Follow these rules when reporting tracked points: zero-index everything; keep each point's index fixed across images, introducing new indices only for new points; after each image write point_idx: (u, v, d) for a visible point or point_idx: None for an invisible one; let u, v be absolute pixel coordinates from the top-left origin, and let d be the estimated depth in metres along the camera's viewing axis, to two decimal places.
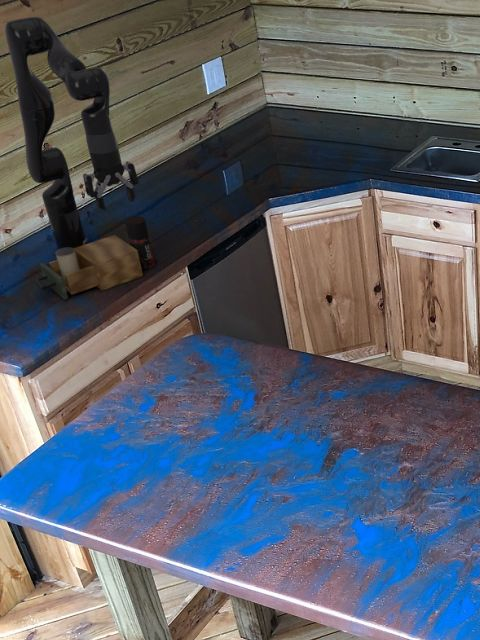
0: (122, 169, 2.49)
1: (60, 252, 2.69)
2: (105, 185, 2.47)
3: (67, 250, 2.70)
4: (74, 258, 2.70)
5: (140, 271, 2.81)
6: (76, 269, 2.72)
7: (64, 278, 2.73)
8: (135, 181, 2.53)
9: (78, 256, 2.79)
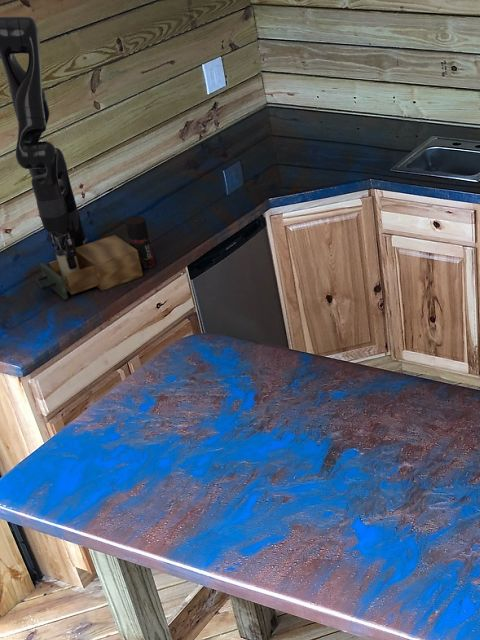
0: (60, 237, 2.64)
1: (60, 252, 2.69)
2: (52, 240, 2.68)
3: None
4: None
5: (140, 271, 2.81)
6: (76, 269, 2.72)
7: (64, 278, 2.73)
8: (67, 254, 2.66)
9: (78, 256, 2.79)
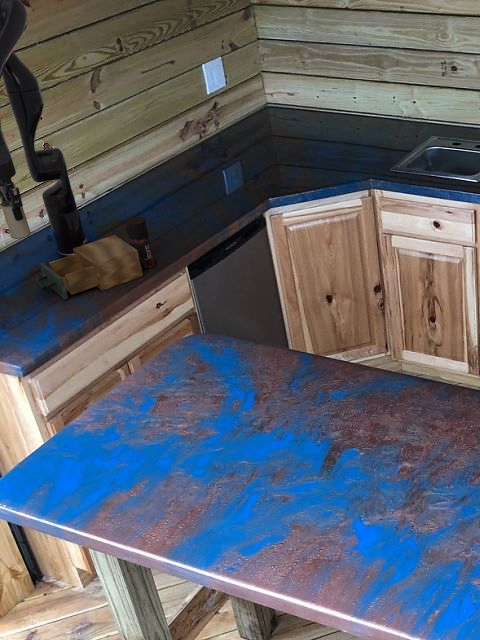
0: (5, 186, 2.55)
1: (5, 203, 2.60)
2: None
3: None
4: (21, 209, 2.61)
5: (140, 271, 2.81)
6: (23, 221, 2.63)
7: (11, 230, 2.64)
8: (12, 205, 2.57)
9: (78, 256, 2.79)
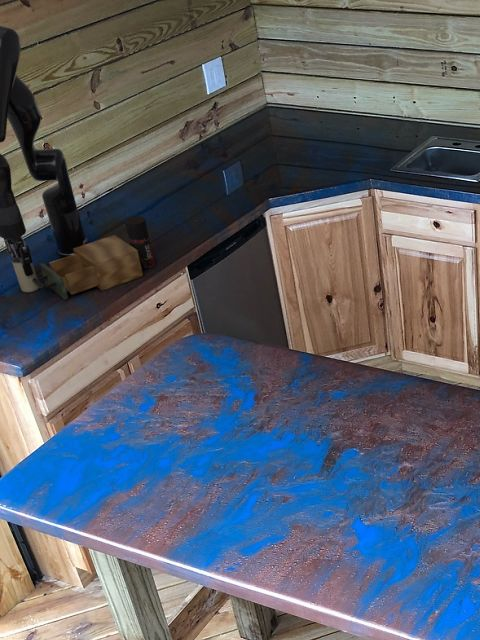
0: (15, 244, 2.65)
1: (16, 259, 2.71)
2: (8, 247, 2.70)
3: None
4: None
5: (140, 271, 2.81)
6: (33, 276, 2.74)
7: (21, 285, 2.74)
8: (22, 262, 2.67)
9: (78, 256, 2.79)
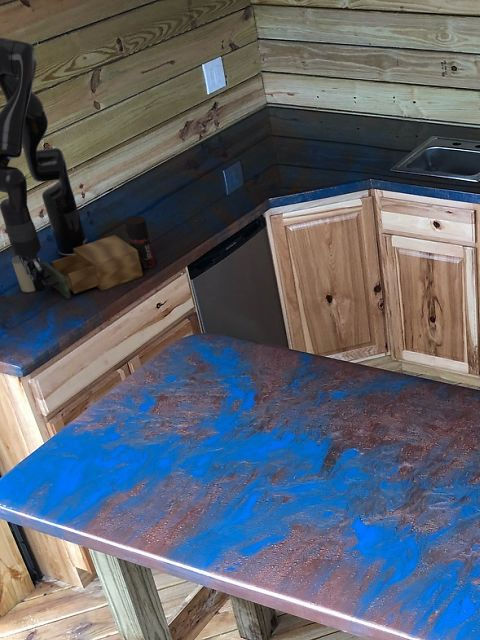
0: (30, 262, 2.59)
1: (16, 259, 2.71)
2: (22, 264, 2.64)
3: None
4: None
5: (140, 271, 2.81)
6: None
7: (21, 285, 2.74)
8: (34, 277, 2.63)
9: None
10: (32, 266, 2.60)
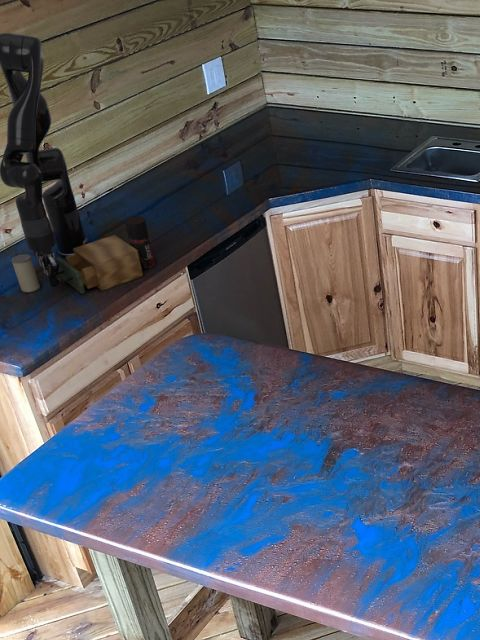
0: (45, 257, 2.61)
1: (16, 259, 2.71)
2: (37, 259, 2.66)
3: (23, 257, 2.72)
4: (30, 265, 2.72)
5: (140, 271, 2.81)
6: (33, 276, 2.74)
7: (21, 285, 2.74)
8: (48, 272, 2.65)
9: None
10: (47, 261, 2.62)
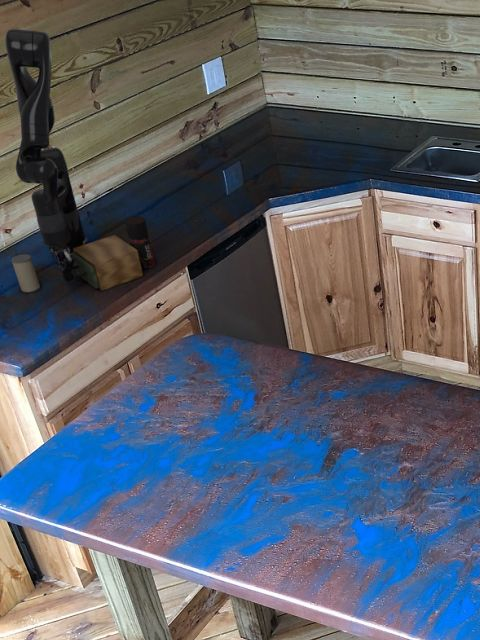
0: (60, 252, 2.64)
1: (16, 259, 2.71)
2: (52, 254, 2.68)
3: (23, 257, 2.72)
4: (30, 265, 2.72)
5: (140, 271, 2.81)
6: (33, 276, 2.74)
7: (21, 285, 2.74)
8: (63, 267, 2.67)
9: None
10: (62, 256, 2.65)
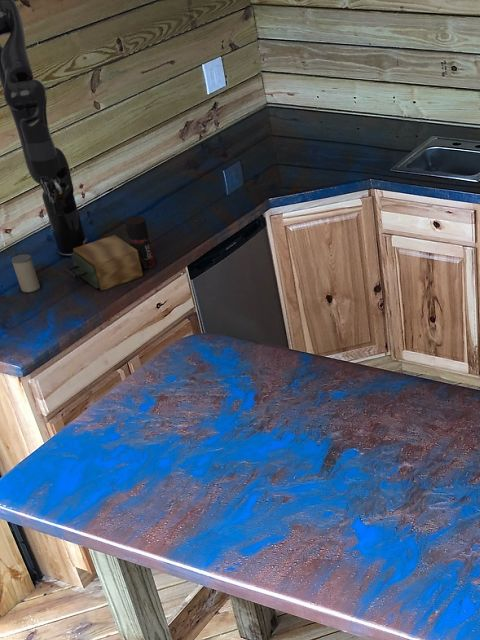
0: (50, 182, 2.56)
1: (16, 259, 2.71)
2: (42, 186, 2.60)
3: (23, 257, 2.72)
4: (30, 265, 2.72)
5: (140, 271, 2.81)
6: (33, 276, 2.74)
7: (21, 285, 2.74)
8: (53, 199, 2.59)
9: None
10: (52, 187, 2.57)
